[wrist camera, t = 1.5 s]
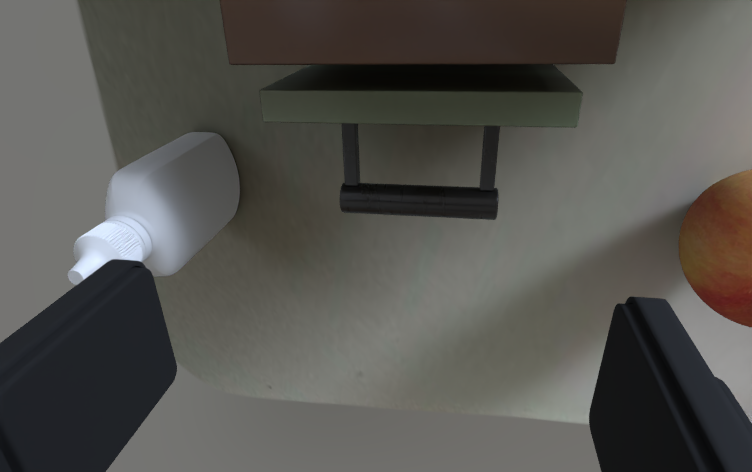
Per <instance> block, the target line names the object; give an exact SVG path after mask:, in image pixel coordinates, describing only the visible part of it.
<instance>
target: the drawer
mask: <svg viewBox="0 0 752 472" xmlns="http://www.w3.org/2000/svg"><path fill="white" fill-rule="evenodd" d="M259 92H260V99H261V107H262V115H263V121H264V122H291V123H342V140H343V157H344V175H345V183H343V184H342V186H341V190H340V208H341V211H342V212H344V213H363V214H384V215H405V216H425V217H446V218H467V219H488V220H495V219H496V217H497V212H498V189H497V188H494V185H495V174H496V163H497V152H498V141H499V130H500V126H516V127H572V128H576V127H577V126H578V120H579V114H580V108H581V102H582V96H583V92H582V91H581V90H580V89H578V88H577V87H576V86H575V85H574V84H573V83H572V82H571V81H570V80H569V79H568V78H567V77H566V76H565V75H564V74H563V73H562V72H561V71H559V70H558V69H557V68H556V67H555V66H554V65H553V64H408V65H309V66H307V67H305V68H303V69H301V70H299V71H297V72H295V73H293V74H291V75H289V76H287V77H285V78H283V79H281V80H279V81H277V82H275V83H273V84H271V85H269V86H267V87H265V88H263V89H261V90H260V91H259ZM358 124H403V125H460V126H484V135H483V149H482V162H481V175H480V188H479V187H453V186H426V185H400V184H373V183H359V182H360V168H359V144H358Z"/></svg>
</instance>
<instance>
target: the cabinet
mask: <svg viewBox="0 0 752 472" xmlns="http://www.w3.org/2000/svg"><path fill="white" fill-rule="evenodd" d="M626 3H627V0H220V6H221V13H222V19H223V26H224V32H225V39H226V45H227V52H228V58H229V64H231V65H408V64H614V63H615V62H616V56H617V51H618V46H619V40H620V35H621V30H622V24H623V19H624V14H625V8H626Z"/></svg>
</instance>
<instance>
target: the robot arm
mask: <svg viewBox="0 0 752 472" xmlns="http://www.w3.org/2000/svg"><path fill="white" fill-rule="evenodd" d="M176 372H177V365H176V361H175V357H174V353H173V349H172V346H171V342H170V338H169V334H168V331H167V327H166V323H165V320H164V316H163V312H162V308H161V305H160V301H159V297H158V293H157V290H156V286H155V282H154V278H153V275H152V272H151V271H150V270H149V269H147V268H146V267H145V265H144V264H143V263H142V262H140V261H134V260H121V259H112V260H110V261H108V262H107V263H105V264H104V265H103V266H101V267H100V268H99V269H97V270H96V271H95V272H93V273H92V274H91V275H89V276H88V277H87V278H86V279H84V280H83V281H82V282H80V283H79V284H78V285H76V286H75V287H74V288H72V289H71V290H70V291H68V292H67V293H66V294H64V295H63V296H62V297H61V298H59V299H58V300H57V301H55V302H54V303H53V304H51V305H50V306H49V307H47V308H46V309H45V310H43V311H42V312H41V313H39V314H38V315H37V316H36V317H34V318H33V319H32V320H30V321H29V322H28V323H26V324H25V325H24V326H23V327H21V328H20V329H18V330H17V331H16V332H14V333H13V334H12V335H10V336H9V337H8V338H7V339H5V340H4V341H3V342H1V343H0V472H106V470H107V469H108V468H109V466H110V465H111V464H112V462H113V461H114V460H115V458H116V457H117V456H118V454H119V453H120V452H121V450H122V449H123V448H124V446H125V445H126V444H127V443H128V441H129V440H130V438H131V437H132V436H133V435H134V433H135V432H136V431H137V429H138V428H139V427H140V425H141V424H142V422H143V421H144V420H145V418H146V417H147V416H148V414H149V413H150V412H151V410H152V409H153V408H154V407H155V405H156V404H157V403H158V401H159V400H160V399H161V397H162V396H163V395H164V393H165V392H166V391H167V389H168V388H169V386H170V385H171V384H172V383H173V381H174V379H175V376H176ZM589 423H590V430H591V434H592V438H593V441H594V445H595V449H596V453H597V457H598V460H599V464H600V468H601V471H602V472H752V423H751V422H750V420H749V419H748V417H747V416H746V414H745V413H744V411H743V409H742V408H741V406H740V405H739V403H738V402H737V400H736V399H735V397H734V395H733V394H732V392H731V391H730V389H729V388H728V387H727V385H726V384H725V383H724V382H723V381H722V380H720V379H718V378H716V377H714V375H713V374H712V372H711V370H710V369H709V367H708V365H707V364H706V362H705V361H704V359H703V357H702V356H701V354H700V353H699V351H698V349H697V348H696V346H695V345H694V343H693V341H692V340H691V338H690V337H689V335H688V333H687V332H686V330H685V329H684V327H683V325H682V324H681V322H680V321H679V319H678V317H677V316H676V314H675V313H674V311H673V309H672V308H671V306H670V305H669V303H668V302H667V301H666V300H665V299H658V298H644V297H629V298H628V299H627V301H626V303H625V304H617V305H616V306H615V309H614V312H613V316H612V321H611V325H610V329H609V333H608V337H607V341H606V345H605V350H604V354H603V358H602V362H601V366H600V370H599V375H598V379H597V383H596V387H595V391H594V395H593V399H592V404H591V408H590V414H589Z"/></svg>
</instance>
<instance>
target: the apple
mask: <svg viewBox="0 0 752 472" xmlns="http://www.w3.org/2000/svg"><path fill="white" fill-rule="evenodd" d="M679 257H680V261H681V265H682V269H683V271H684V274H685V276H686V278H687V280H688V282H689V284H690V285H691V287H692V288H693V290H694V291H695V292H696V294H697V295H698V296H699V297H700V298H701V299H702V300H703V301H704V302H705V303H706V304H707V305H708V306H709V307H710V308H712V309H713V310H714V311H716V312H717V313H719V314H720V315H722V316H724V317H725V318H727V319H729V320H731V321H734V322H736V323H739V324H742V325H745V326H749V327H752V170H748V171H744V172H740V173H737V174H734V175H732V176H729V177H727V178H725V179H722V180H720V181H719V182H717V183H715V184H713V185H712V186H710V187H709V188H708V189H706V190H705V191H704V192H703V193H702V194H701V195H700V196H699V197H698V198H697V199H696V200H695V201H694V203H693V204H692V205H691V207H690V208H689V210H688V212H687V214H686V216H685V218H684V220H683V223H682V226H681V230H680V236H679Z"/></svg>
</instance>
